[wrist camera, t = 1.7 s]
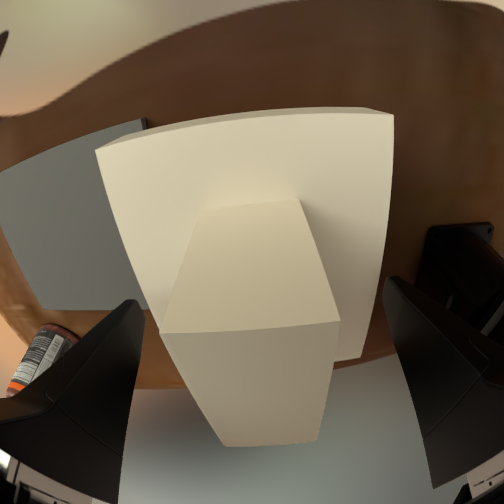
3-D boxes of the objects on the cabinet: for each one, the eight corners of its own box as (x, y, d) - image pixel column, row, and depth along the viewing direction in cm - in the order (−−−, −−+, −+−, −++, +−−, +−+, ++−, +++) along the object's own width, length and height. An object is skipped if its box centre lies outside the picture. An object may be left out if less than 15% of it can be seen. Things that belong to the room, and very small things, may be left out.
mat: (144, 117, 12) (140, 118, 12) (192, 301, 19) (190, 307, 18) (-11, 178, 13) (-16, 181, 13) (46, 305, 20) (43, 309, 19)
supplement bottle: (98, 365, 24) (66, 461, 15) (55, 354, 24) (19, 439, 14) (78, 326, 21) (30, 435, 11) (33, 316, 21) (-17, 408, 11)
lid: (364, 107, 9) (517, 165, 3) (349, 322, 15) (383, 445, 9) (125, 135, 10) (-18, 223, 3) (187, 336, 16) (166, 459, 9)
